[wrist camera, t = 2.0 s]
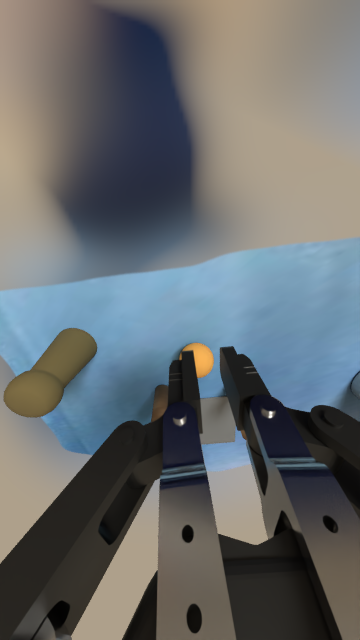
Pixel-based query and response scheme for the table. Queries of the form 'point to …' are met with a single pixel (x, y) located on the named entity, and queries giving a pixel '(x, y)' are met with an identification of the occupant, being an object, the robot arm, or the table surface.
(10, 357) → the table surface
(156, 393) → the post
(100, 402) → the table surface
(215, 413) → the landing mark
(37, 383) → the brown pawn
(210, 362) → the ball
